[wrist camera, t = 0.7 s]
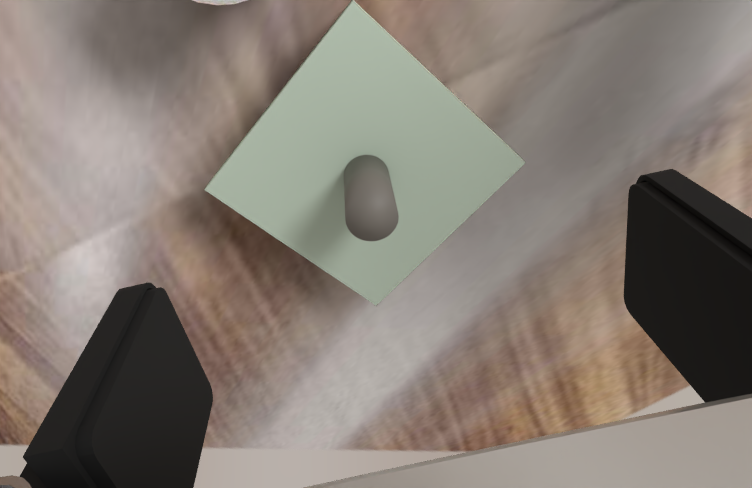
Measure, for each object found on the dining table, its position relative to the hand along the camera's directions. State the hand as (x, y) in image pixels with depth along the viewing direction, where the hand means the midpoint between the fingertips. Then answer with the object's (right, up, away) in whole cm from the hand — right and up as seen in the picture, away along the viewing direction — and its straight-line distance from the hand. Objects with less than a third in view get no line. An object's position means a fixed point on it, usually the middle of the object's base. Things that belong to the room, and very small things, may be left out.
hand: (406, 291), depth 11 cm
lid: (-1, +6, +25) cm, 26 cm away
